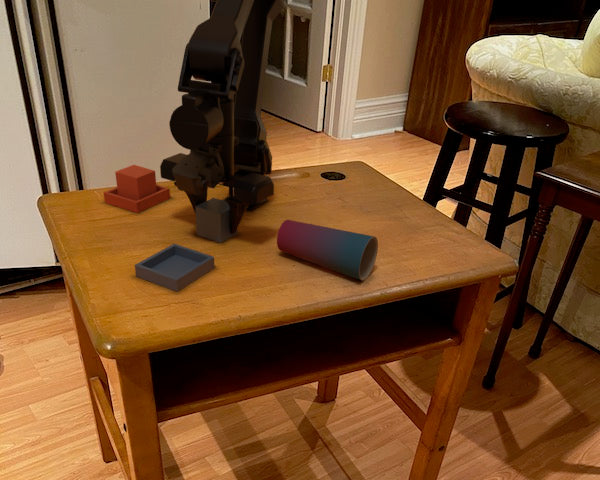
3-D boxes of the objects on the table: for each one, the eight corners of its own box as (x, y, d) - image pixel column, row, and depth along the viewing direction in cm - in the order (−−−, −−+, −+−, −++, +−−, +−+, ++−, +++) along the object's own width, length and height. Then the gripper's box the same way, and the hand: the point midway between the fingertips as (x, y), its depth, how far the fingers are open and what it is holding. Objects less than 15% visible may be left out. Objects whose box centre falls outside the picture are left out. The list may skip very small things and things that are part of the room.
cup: (284, 207, 92) (371, 229, 86) (299, 223, 98) (381, 245, 93) (269, 248, 92) (355, 273, 86) (285, 261, 98) (366, 285, 93)
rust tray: (138, 188, 113) (137, 178, 112) (170, 198, 111) (169, 188, 110) (104, 202, 107) (103, 192, 106) (137, 213, 104) (136, 202, 103)
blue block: (213, 225, 103) (213, 197, 100) (237, 233, 101) (237, 204, 98) (196, 235, 99) (195, 206, 96) (220, 243, 98) (220, 214, 94)
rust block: (136, 191, 111) (133, 164, 108) (157, 197, 110) (155, 170, 106) (118, 199, 108) (114, 171, 105) (139, 205, 106) (136, 177, 103)
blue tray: (174, 254, 93) (174, 243, 92) (214, 268, 91) (214, 256, 90) (135, 276, 87) (134, 264, 86) (177, 291, 84) (176, 280, 83)
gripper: (132, 130, 87) (142, 229, 97) (236, 157, 81) (236, 261, 91) (179, 115, 95) (184, 209, 105) (277, 139, 89) (273, 236, 99)
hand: (217, 228), depth 100 cm, fingers open, 6 cm apart
